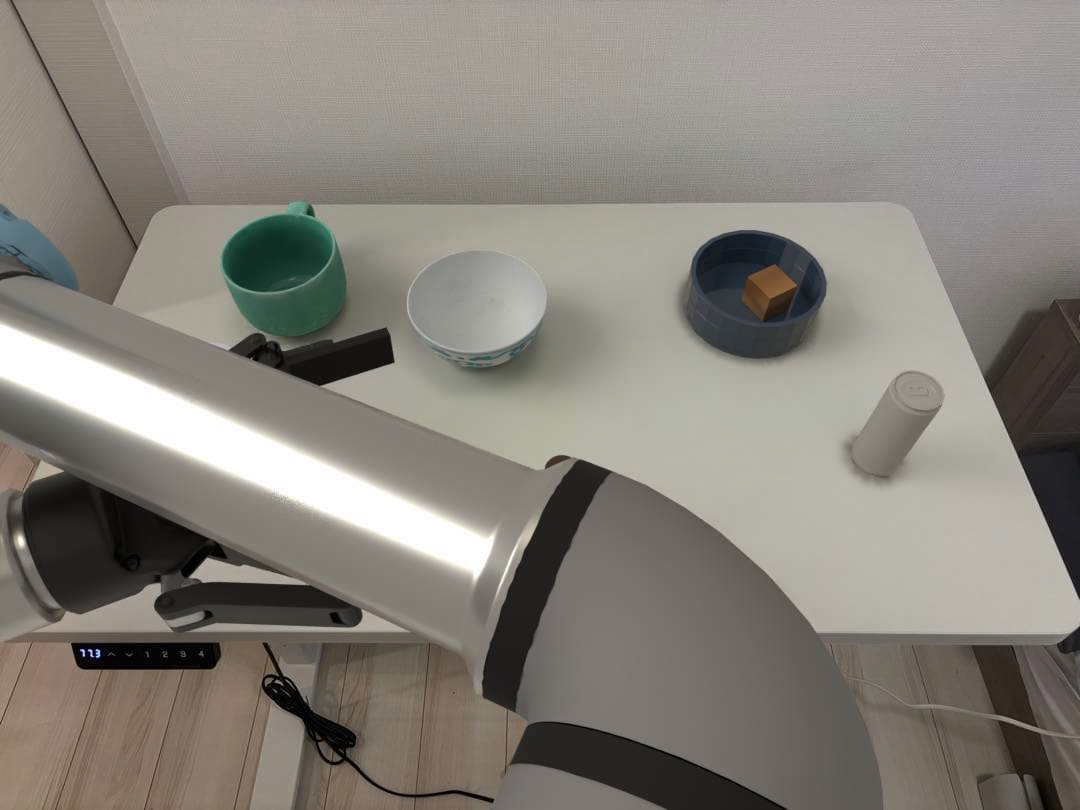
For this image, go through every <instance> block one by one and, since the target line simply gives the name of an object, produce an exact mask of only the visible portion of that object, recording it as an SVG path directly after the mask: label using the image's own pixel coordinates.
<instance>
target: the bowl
mask: <svg viewBox="0 0 1080 810" xmlns="http://www.w3.org/2000/svg"><path fill="white" fill-rule="evenodd" d="M774 264H775V265H776V266H777V267H778V268H779V269H781V270H782V271H783V272H784V273H785V274H786V275H787V276H788V277H789V278H790V279H791V280H792V281H793V282H794V283H795V284H796V285H797V289H796V291H795V294H794V297H793V299H792V302H791V305H790V307H789V309H788V310H786V311H784V312H782V313H780V314H778V315H776V316H774V317H772V318H770V319H768V320H766V321H764V322H762V321H761V320H760V319H759V318H758V317H757V316H756V315H755V314H754V313H753V312H752V311H751V310H750V309H749V308H748V307H747V306H746V305H745V304H744V303H743V302H742V301H741V298H742V295H743V291H744V288H745V285H746V282H747V278H748V276H750V275H752V274H755V273H757V272H759V271H761V270H763V269H766V268H768V267H770V266H772V265H774ZM827 285H828V281H827V278H826V274H825V272H824V269H823V267H822V266H821V264H820V263H819V261H818V260H817V258H816V257H815V256H814V255H813V254H811V252H810V251H808V249H806V248H805V247H803V246H802V245H800V244H799V243H797V242H795V241H793V240H792V239H790V238H787V237H785V236H782V235H780V234H777V233H773V232H769V231H764V230H757V229H739V230H733V231H728V232H724V233H721V234H719V235H716V236H713V237H711V238H710V239H708V240H707V241H706V242H705V243H703V244H702V245H700V247H698V249H697V250H696V252H695V254H694V255H693V256H692V260H691V265H690V268H689V273H688V278H687V283H686V287H685V291H684V297H683V309H684V314H685V317H686V319H687V322H688V324H689V325H690V326H691V329H693V331H694V332H695V333H696V334H697V335H698V336H699V337H700V338H701V339H702V340H704V341H705V342H706V343H707V344H709V345H710V346H713V347H714V348H716V349H718V350H720V351H722V352H724V353H727V354H729V355H733V356H736V357H740V358H741V357H742V358H747V359H768V358H775V357H778V356H782V355H785V354H787V353H789V352H792V351H794V349H796V348H798V347H799V346H800V345H801V344H803V342H805V340H806V339H807V338H808V336H809V335H810V332H811V330H812V328H813V326H814V324H815V322H816V319H817V317H818V315H819V312H820V310H821V308H822V305H823V303H824V301H825V299H826V297H827Z"/></svg>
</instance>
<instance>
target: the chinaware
mask: <svg viewBox="0 0 1080 810" xmlns="http://www.w3.org/2000/svg"><path fill="white" fill-rule="evenodd" d="M547 307H548V292H547V287H546V285H545V282H544V280H543V278H542V277H541V275H540V274H539V272H538V271H537V270H536V269H535V268H534V267H533V266H532V265H530V263H528V262H527V261H525V260H523V259H522V258H519V257H518V256H516V255H513V254H510V253H508V252H505V251H501V250H497V249H496V250H495V249H490V248H489V249H487V248H473V249H465V250H459V251H455V252H452V253H449V254H446V255H443V256H441V257H440V258H438V259H435V260H434V261H432V262H431V263H429V264H428V265H426V266H425V267H424V268H423V269H422V270H421V271H420V272H419V273H418V274H417V275H416V276H415V278H414V279H413V280H412V283H411V284H410V287H409V290H408V292H407V297H406V310H407V314H408V318H409V320H410V323H411V325H412V327H413V328H414V331H415V332H416V333H417V335H418V337H419V338H420V339H421V341H422V342H423V343H424V344H425V345H426V347H428V348H429V349H430V350H431V351H432V352H433V353H434V354H436V355H437V356H438V357H440V358H441V359H443V360H445V361H447V362H449V363H452V364H454V365H457V366H460V367H467V368H475V369H479V368H480V369H481V368H490V367H495V366H498V365H501V364H504V363H506V362H508V361H510V360H512V359H513V358H515V357H517V356H518V355H520V354H521V353H522V352H523V351H524V350H525V349H526V348H527V347H528V346H529V345H530V344H531V342H532V341H533V340H534V339H535V337H536V335H537V334H538V332H539V330H540V328H541V327H542V326H541V325H542V323H543V321H544V319H545V316H546V312H547Z"/></svg>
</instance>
